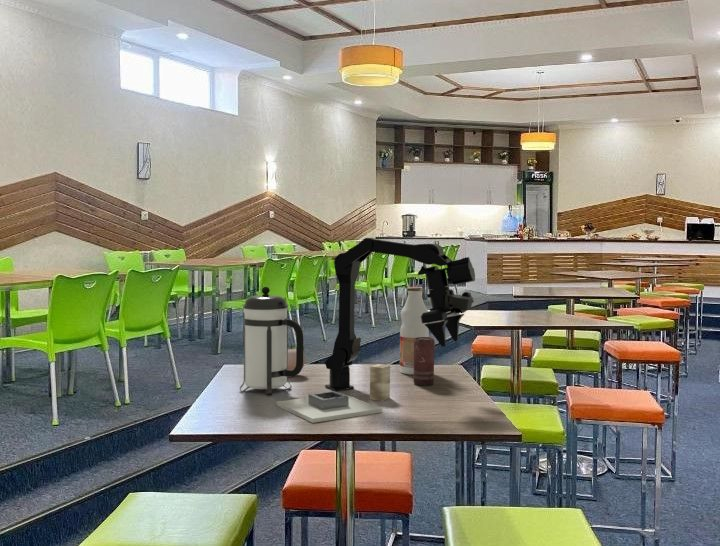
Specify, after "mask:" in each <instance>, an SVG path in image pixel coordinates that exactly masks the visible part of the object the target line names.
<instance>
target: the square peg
mask: <svg viewBox="0 0 720 546" xmlns="http://www.w3.org/2000/svg"><path fill="white" fill-rule="evenodd" d="M369 377H370V378H369V399H370V400H375V401H382V402H383V401H386V400H389V399H391V394H390V393H391V365H387V364H379V363H378V364H374V365H371V366H370V367H369Z"/></svg>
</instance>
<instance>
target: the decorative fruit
mask: <svg viewBox="0 0 720 546" xmlns="http://www.w3.org/2000/svg"><path fill="white" fill-rule="evenodd" d="M305 352H306V350H305V349H304V348H303V367H302V369H304V366H305V364H306V360H307V359H306V354H305ZM295 367H296V346H295V347H293V344H290V347H288V370H291V371H292V370H294V369H295Z"/></svg>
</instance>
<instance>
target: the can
mask: <svg viewBox="0 0 720 546" xmlns="http://www.w3.org/2000/svg"><path fill="white" fill-rule="evenodd" d="M435 341H436V340H435V338H433V337H430V336H429V337H417V338H415V340H414V375H413V380H412V381H413V384H414V385H415V386H419V387H420V386H421V387H427V386H428V387H429V386H432V385H433V384H434V381H435V380H434V379H435V349H436V342H435Z"/></svg>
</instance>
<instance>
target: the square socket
mask: <svg viewBox="0 0 720 546" xmlns="http://www.w3.org/2000/svg"><path fill="white" fill-rule="evenodd" d="M343 394H344V393H343ZM343 394H340V392H339V391H336V390H331V391H330V390H329V391H324V392H323V391H321V392H315V393H308V396H307V398H308V404H310V405H312V406H315V407H317V408H319V409H322V410H326V409H333V408H340V407H347V406H349V397H348V396H349V395H348V396H346V395H347V394H346V395H343Z"/></svg>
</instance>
